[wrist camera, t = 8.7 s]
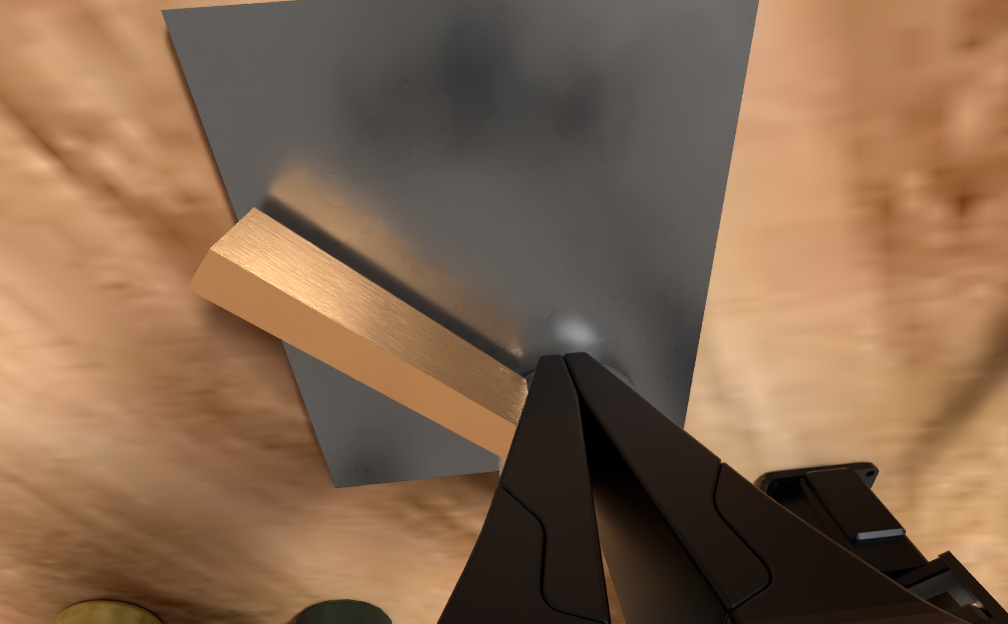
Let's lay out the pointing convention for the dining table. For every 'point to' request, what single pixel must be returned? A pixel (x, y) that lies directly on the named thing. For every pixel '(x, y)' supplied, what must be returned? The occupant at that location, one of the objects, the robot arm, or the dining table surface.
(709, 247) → the chuck base plate
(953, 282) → the dining table surface
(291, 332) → the wooden bar
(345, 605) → the potion bottle
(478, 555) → the robot arm
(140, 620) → the vase
